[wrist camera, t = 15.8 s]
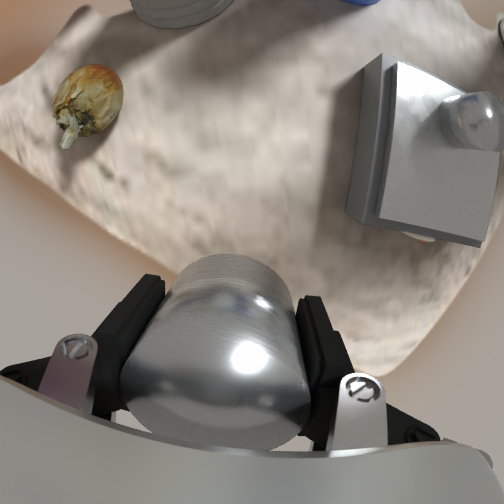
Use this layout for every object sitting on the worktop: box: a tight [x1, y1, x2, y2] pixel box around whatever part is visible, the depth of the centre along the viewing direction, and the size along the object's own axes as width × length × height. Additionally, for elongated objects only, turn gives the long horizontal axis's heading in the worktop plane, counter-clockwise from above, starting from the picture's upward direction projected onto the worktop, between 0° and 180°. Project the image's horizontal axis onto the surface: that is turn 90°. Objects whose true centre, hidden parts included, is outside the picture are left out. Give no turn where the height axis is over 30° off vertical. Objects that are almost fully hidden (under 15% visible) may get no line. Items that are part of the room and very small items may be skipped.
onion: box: [53, 64, 123, 149], centre depth 21 cm, size 8×8×8 cm
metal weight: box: [439, 91, 504, 152], centre depth 16 cm, size 5×5×5 cm
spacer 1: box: [120, 254, 311, 451], centre depth 9 cm, size 5×5×5 cm
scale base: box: [345, 53, 482, 248], centre depth 23 cm, size 16×17×5 cm
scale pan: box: [374, 62, 500, 242], centre depth 20 cm, size 14×14×1 cm
